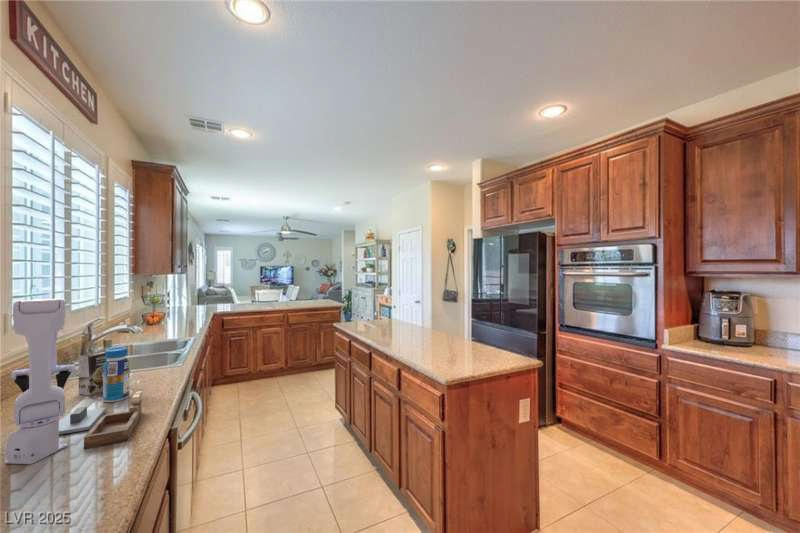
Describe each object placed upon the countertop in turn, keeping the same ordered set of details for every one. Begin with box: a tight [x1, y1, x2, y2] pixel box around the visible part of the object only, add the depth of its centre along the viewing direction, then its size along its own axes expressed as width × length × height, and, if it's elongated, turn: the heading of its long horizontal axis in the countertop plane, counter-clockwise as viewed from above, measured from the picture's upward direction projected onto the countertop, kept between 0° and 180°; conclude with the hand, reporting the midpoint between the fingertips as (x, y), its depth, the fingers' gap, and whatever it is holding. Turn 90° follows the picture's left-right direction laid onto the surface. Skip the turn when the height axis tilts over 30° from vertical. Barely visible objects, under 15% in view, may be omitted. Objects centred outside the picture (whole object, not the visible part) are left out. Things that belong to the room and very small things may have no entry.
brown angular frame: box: [83, 399, 143, 450], centre depth 109 cm, size 22×10×4 cm, turn 27°
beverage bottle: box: [102, 346, 131, 403], centre depth 133 cm, size 8×8×20 cm
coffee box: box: [77, 350, 108, 396], centre depth 141 cm, size 9×6×16 cm
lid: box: [59, 406, 107, 435], centre depth 112 cm, size 16×10×5 cm, turn 27°
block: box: [131, 390, 143, 405], centre depth 119 cm, size 6×2×2 cm, turn 27°
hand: (44, 395), depth 109 cm, fingers open, 7 cm apart
